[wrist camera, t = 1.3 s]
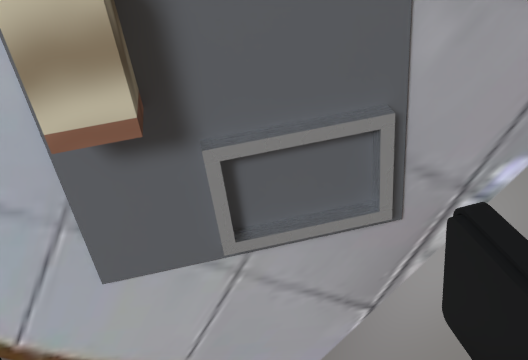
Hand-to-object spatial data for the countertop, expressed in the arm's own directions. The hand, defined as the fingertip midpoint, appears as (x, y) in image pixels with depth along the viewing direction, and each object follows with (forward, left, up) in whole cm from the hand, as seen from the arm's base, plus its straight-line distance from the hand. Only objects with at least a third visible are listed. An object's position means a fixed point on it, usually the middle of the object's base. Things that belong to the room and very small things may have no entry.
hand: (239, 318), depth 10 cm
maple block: (0, -6, -23) cm, 23 cm away
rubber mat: (+7, +2, -23) cm, 24 cm away
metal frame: (+12, +6, -23) cm, 27 cm away
